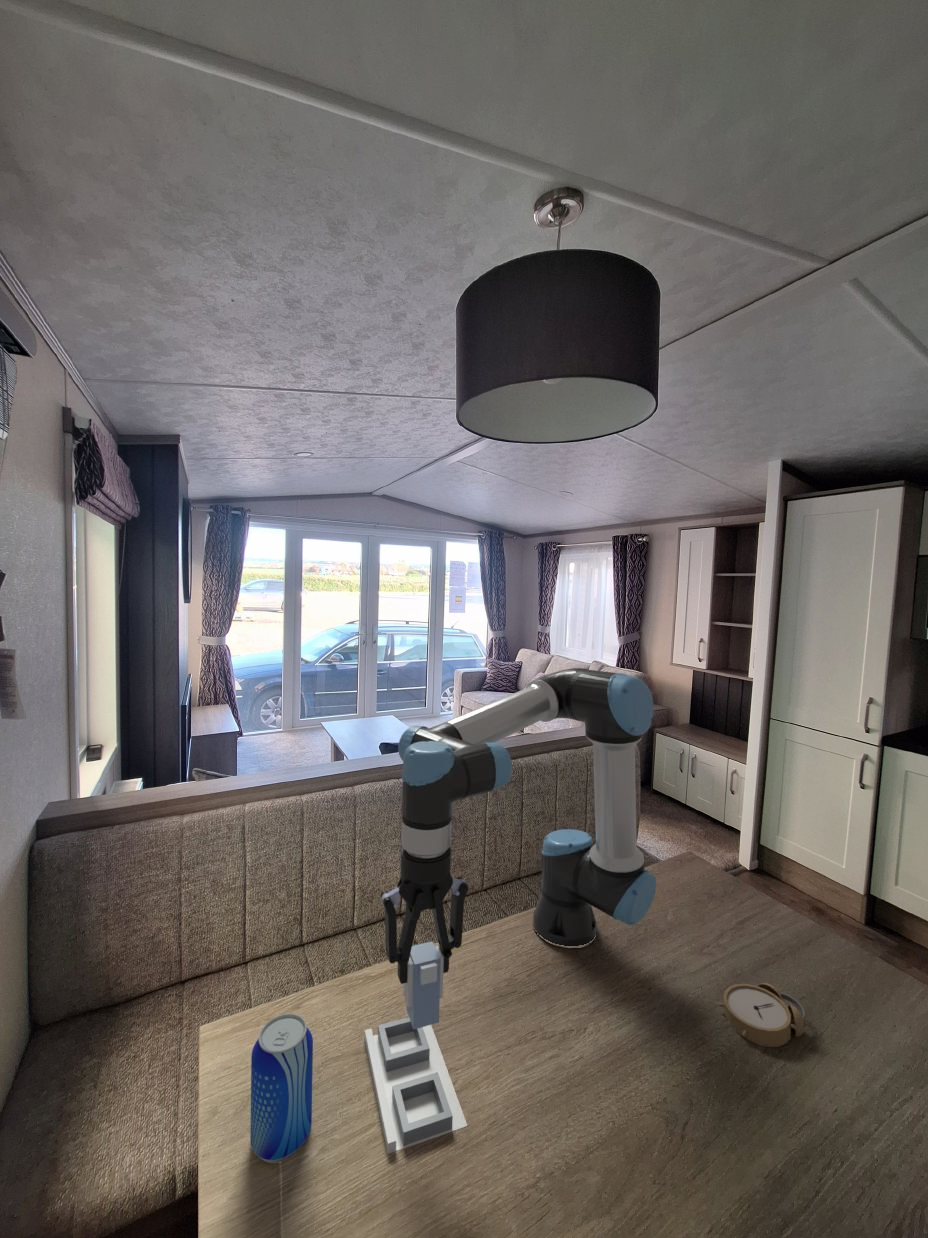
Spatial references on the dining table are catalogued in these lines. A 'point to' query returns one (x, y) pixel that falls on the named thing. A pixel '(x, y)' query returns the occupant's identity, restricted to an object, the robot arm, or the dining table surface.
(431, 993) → the plug
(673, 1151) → the dining table surface
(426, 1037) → the panel
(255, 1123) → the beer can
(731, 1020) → the alarm clock
